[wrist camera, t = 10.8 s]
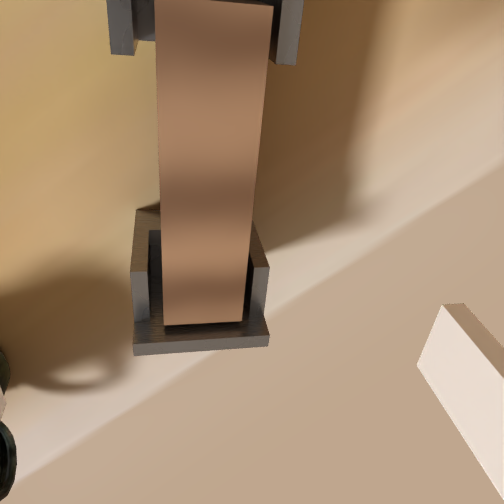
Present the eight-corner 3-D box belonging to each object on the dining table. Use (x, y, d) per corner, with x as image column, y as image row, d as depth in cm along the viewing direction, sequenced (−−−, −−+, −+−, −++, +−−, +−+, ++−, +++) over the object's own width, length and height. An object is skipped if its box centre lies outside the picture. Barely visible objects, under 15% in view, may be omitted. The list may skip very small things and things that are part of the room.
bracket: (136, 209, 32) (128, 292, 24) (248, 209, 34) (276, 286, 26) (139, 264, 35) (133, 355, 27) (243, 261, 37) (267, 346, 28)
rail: (155, -11, 22) (154, -5, 17) (249, -3, 23) (273, 6, 18) (163, 270, 32) (163, 325, 27) (229, 268, 33) (241, 321, 28)
